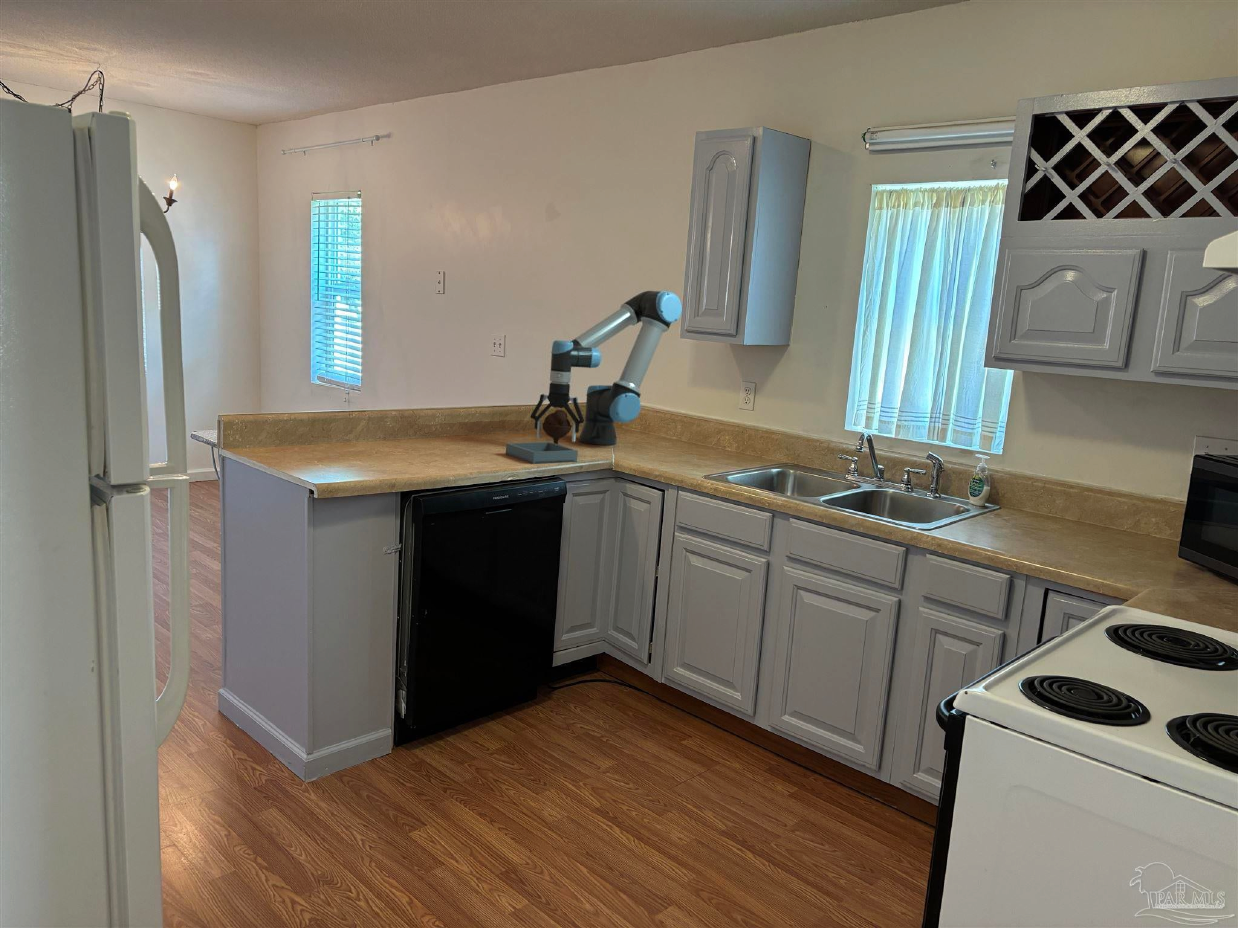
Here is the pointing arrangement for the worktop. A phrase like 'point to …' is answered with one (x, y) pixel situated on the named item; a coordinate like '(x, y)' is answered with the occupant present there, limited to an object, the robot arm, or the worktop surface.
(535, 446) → the charcoal bin
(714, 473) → the worktop surface
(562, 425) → the ice cream bowl
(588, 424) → the robot arm
